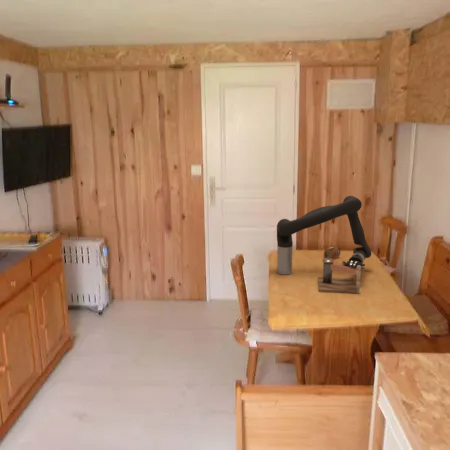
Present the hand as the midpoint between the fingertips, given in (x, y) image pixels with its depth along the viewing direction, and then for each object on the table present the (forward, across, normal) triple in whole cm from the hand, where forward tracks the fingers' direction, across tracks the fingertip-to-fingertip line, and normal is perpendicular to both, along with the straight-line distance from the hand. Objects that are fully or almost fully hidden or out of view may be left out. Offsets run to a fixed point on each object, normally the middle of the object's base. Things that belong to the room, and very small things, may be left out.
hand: (350, 269), depth 254 cm
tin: (-48, -22, +12) cm, 55 cm away
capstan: (0, -6, +10) cm, 12 cm away
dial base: (-2, -7, +11) cm, 13 cm away
